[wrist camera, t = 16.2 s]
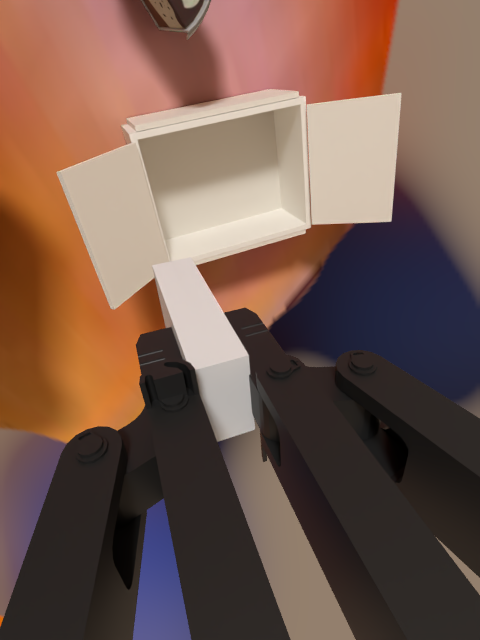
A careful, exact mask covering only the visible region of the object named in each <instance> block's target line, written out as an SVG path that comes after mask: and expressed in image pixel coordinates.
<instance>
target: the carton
mask: <svg viewBox="0 0 480 640" xmlns="http://www.w3.org/2000/svg"><path fill="white" fill-rule="evenodd" d="M126 120H127V124H124V125H121V127H122V131H123V134H124V138H125V141H126V145H127V144H130V143H136V146H137V149H138V153H139V156H140V160H141V164H142V167H143V171H144V175H145V178H146V182H147V186H148V189H149V193H150V196H151V200H152V204H153V207H154V211H155V215H156V218H157V222H158V225H159V229H160V233H161V236H162V240H163V244H164V247H165V251H166V255H167V258H168V262H170V261H175V260H180V259H184V258H189V257H191V258H192V260H193V262H194V263H195V265H199V264H202V263H205V262H209V261H212V260H216V259H219V258H223V257H226V256H229V255H233V254H236V253H240V252H243V251H246V250H250V249H253V248H257V247H260V246H264V245H267V244H270V243H274V242H277V241H281V240H284V239H288V238H291V237H294V236H298V235H301V234H305V233H306V229H308V228H311V212H310V188H309V164H308V140H307V117H306V96H299V91H287V90H275V89H268V90H263V91H258V92H253V93H248V94H243V95H238V96H233V97H229V98H224V99H219V100H214V101H209V102H204V103H199V104H194V105H189V106H185V107H180V108H175V109H170V110H165V111H160V112H155V113H150V114H146V115H141V116H136V117H131V118H126Z"/></svg>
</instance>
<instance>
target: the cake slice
mask: <svg viewBox="0 0 480 640" xmlns="http://www.w3.org/2000/svg"><path fill="white" fill-rule="evenodd" d="M141 1H142V3H143V5H144V6H145V8H146V10H147V11H148V13H149V14H150V16H151V18H152V19H153V21H154V22H155V24H156V26H157V27H158V29H159V30H164V31H175V32H186V33H187V37H186V39H187V40H188V39H189V38H190V37H191V36H192V35H193V34H194V33H195V31H196V30H197V28H198V27H199V25H200V24H201V22H202V21H203V19H204V16H205V14H206V12H207V10H208V8H209V5H210V2H211V0H141Z"/></svg>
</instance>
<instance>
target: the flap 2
mask: <svg viewBox="0 0 480 640" xmlns="http://www.w3.org/2000/svg"><path fill="white" fill-rule="evenodd" d="M400 105H401V93H395V94H387V95H379V96H371V97H363V98H355V99H347V100H339V101H331V102H323V103H315V104H307V120H308V144H309V169H310V193H311V218H312V225H314V224H341V223H366V222H391V217H392V205H393V193H394V180H395V168H396V155H397V143H398V131H399V130H398V129H399V117H400Z"/></svg>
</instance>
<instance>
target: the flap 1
mask: <svg viewBox="0 0 480 640" xmlns="http://www.w3.org/2000/svg"><path fill="white" fill-rule="evenodd" d="M57 175H58V177H59V180H60V182H61V185H62V187H63V190H64V192H65V195H66V197H67V200H68V203H69V205H70V208H71V210H72V213H73V215H74V218H75V220H76V223H77V225H78V228H79V230H80V233H81V235H82V238H83V240H84V243H85V245H86V248H87V250H88V253H89V255H90V258H91V260H92V263H93V265H94V268H95V270H96V273H97V275H98V278H99V280H100V283H101V285H102V288H103V290H104V293H105V295H106V298H107V300H108V303H109V305H110V308H111V309H116V308H117V307H118V306H120V305H121V304H122V303H123V302H125V301H126V300H127V299H128V298H130V297H131V296H132V295H133V294H135V293H136V292H137V291H138V290H140V289H141V288H142V287H143V286H145V285H146V284H147V283H148V282H150V281H151V280H152V279H153V278H155V277H154V272H153V268H152V265H156V264H160V263H165V262H168V258H167V255H166V251H165V247H164V244H163V240H162V236H161V233H160V229H159V225H158V222H157V218H156V215H155V211H154V207H153V204H152V200H151V196H150V193H149V189H148V186H147V182H146V178H145V175H144V171H143V167H142V164H141V160H140V156H139V153H138V149H137V146H136V143H130V144H127V145H125V146H122V147H120V148H117V149H115V150H112V151H109V152H107V153H104V154H102V155H99V156H97V157H94V158H91V159H89V160H86V161H84V162H81V163H79V164H76V165H74V166H71V167H68V168H66V169H63V170H61V171H58V172H57Z"/></svg>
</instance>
